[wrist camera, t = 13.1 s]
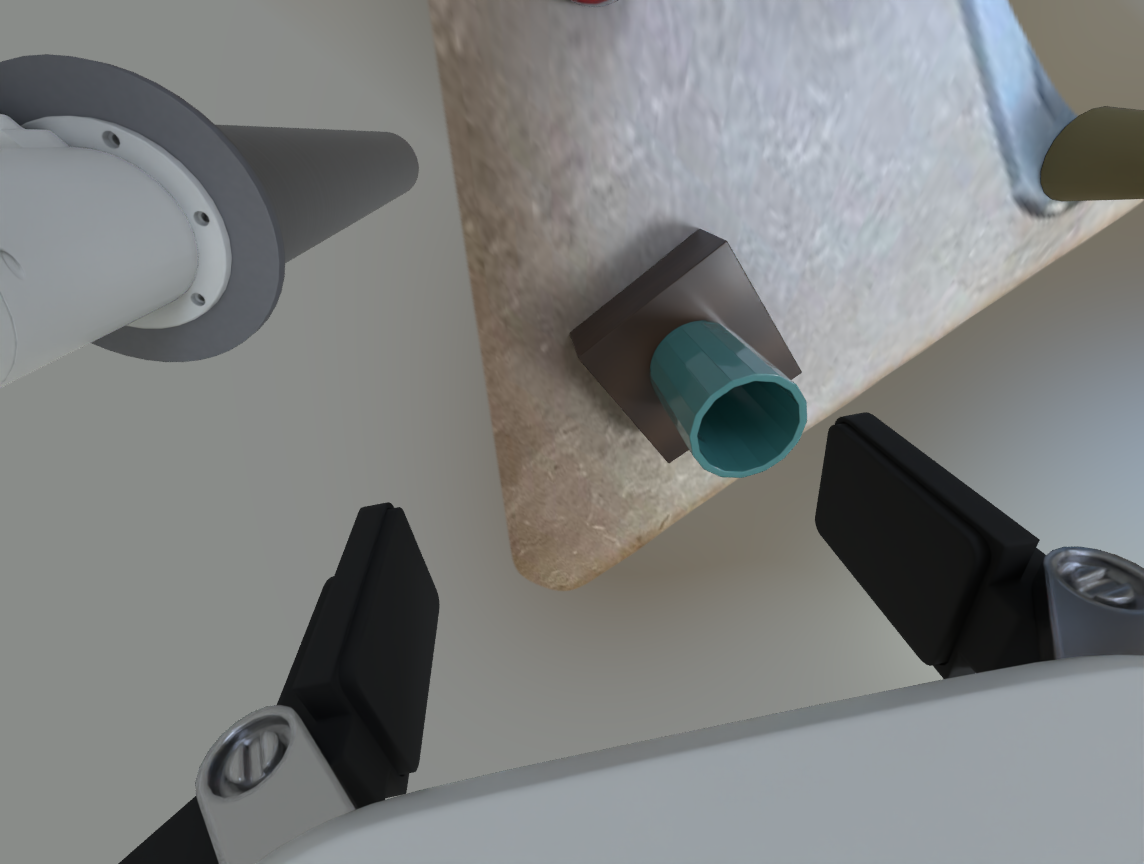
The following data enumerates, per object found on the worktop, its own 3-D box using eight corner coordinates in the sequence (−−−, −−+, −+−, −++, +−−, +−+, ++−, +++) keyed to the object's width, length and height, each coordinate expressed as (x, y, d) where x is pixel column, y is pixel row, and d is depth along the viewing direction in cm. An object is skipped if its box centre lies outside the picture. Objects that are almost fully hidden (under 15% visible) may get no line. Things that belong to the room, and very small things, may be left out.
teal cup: (631, 361, 35) (668, 425, 27) (712, 299, 33) (776, 349, 25) (680, 423, 38) (725, 496, 30) (756, 369, 36) (825, 432, 29)
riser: (569, 333, 38) (577, 357, 34) (699, 228, 36) (727, 240, 31) (652, 432, 44) (668, 463, 40) (771, 348, 41) (802, 372, 37)
